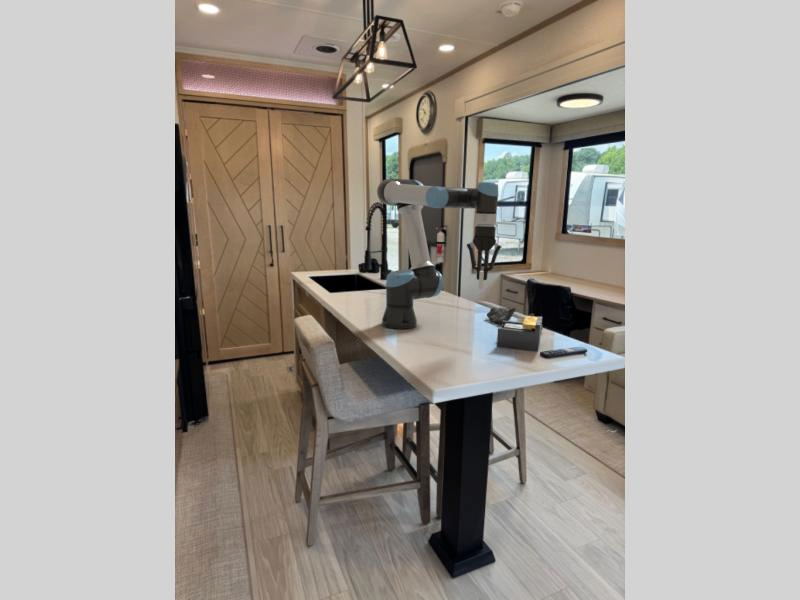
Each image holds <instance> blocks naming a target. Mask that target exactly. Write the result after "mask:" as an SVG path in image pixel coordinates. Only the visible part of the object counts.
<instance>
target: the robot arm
mask: <svg viewBox="0 0 800 600" xmlns="http://www.w3.org/2000/svg"><path fill="white" fill-rule="evenodd" d="M378 184H379V185H378V187H377V189H376V195H377V197H378V199H379V201H380V202H381V203H382V204H383V205H386V206H394V207H395V206H396V208H397V212H398V214H401V216H402V221H403V227H404V234H405V237H406V243H407V249H408V253H409V258H410V266H411V267H410V269H398V270H392V271H391V272H389V273H387V276H386V283H385V286H386V288H385V290H386V292H385V293H386V294H385V295H386V297H385V298H386V299H385V300H386V301H385V310H384V314H383V317H382V319H381V325H382V326H383V327H384V326H385V327H384V328H387V327H389V328H388V329H392V328H396V329H395V330H407V329H406V328H409V329H413V328H416V325H418V319H417V317H416V313H415V309H414V300H418V299H419V300H420V299H429V298H433V297H436V296H438V295H440V293H441V292H442V290H443V287H444V278H443V275H442V274H441V272H440V271H438V270H437V269H436V265H434V264H433V263H432V262H431V257H430V252H429V247H428V242H427V241H428V240H427V237H426V232H425V227H424V226H425V225H424V221H423V217H422V216H423V215H422V210H423V208H424V206H425V207H429V208H433V209H475V221H474V222H475V223H474V224H475V225H476V226H475V227H474V237H473V239H472V241H471V242H469V243H467V244H466V248H467V249H468V253H469V258H470V263H471V269H472V270H475V271H476V280H478V289H479V290H484V288H485V281H487V280H488V272H489V271H492V270H493V269H494V266H495V263H496V260H497V258H498V254H499V251H500V250H501V248H502V245H501V244H499V243H498V242H497V240H496V225H497V214H498V213H497V211H498V210H497V209H498V203H499V202H498V201H499V184H498V183H497V182H492V181H490V182H489V181H488V182H487V181H483V182H482V181H481V182H478V183H477V187H475V188H474V187H471V188H470V187H469V188H468V187H450V186H440V185H439V186H438V185H437V186H435V185H432V186H431V185H424V184H423V183H422V182H421V181H419V180H416V179H411V178H408V179H406V178H405V179H403V178H387V179H384V180H382V181H381V182H380V183H378ZM474 247H475V248H476V249H477V259H476V256H475V250H474ZM493 247H494V252H493V254H492V258H491V260H489V258H490V251H491V250H492V248H493ZM483 251H484V261H483ZM476 260H477V262H476ZM482 261H483V263H484V264H483V270H482ZM489 261H490V264H489ZM412 327H413V328H412Z"/></svg>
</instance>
